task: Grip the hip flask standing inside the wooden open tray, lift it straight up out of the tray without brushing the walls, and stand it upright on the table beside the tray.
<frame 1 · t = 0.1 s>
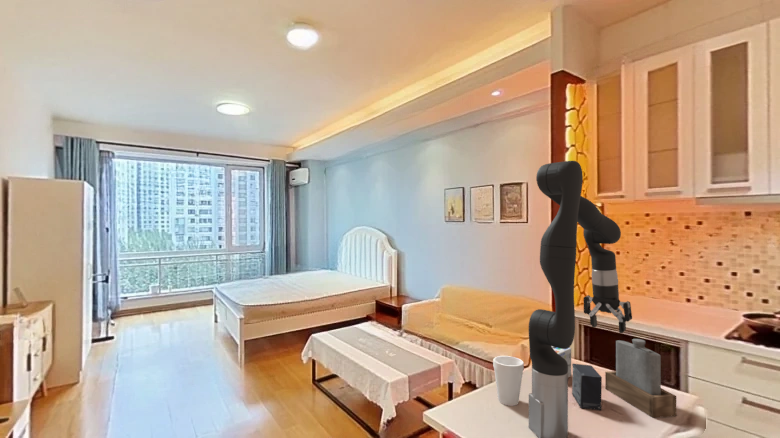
hand: (607, 329, 127), 22 cm above the table, tool pointing down, fingers open, 8 cm apart
small box: (586, 402, 123), on the table
foam cup: (508, 401, 124), on the table
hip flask: (638, 402, 124), resting in wooden open tray
light bulb box: (556, 377, 144), on the table
wooden open tray: (638, 401, 124), on the table
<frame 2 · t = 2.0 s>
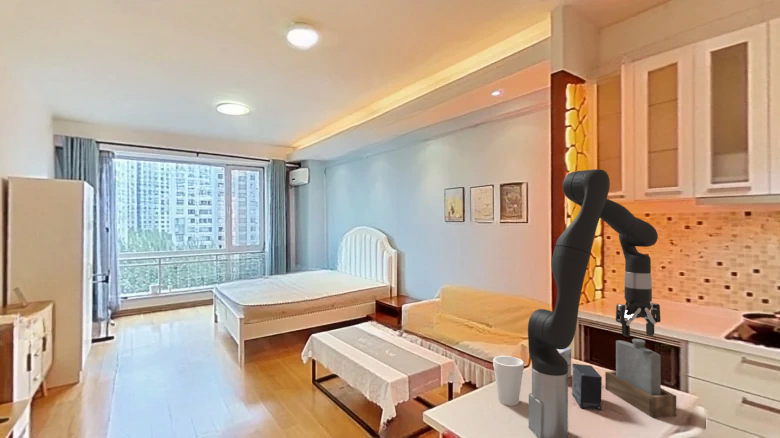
hand: (638, 335, 124), 21 cm above the table, tool pointing down, fingers open, 8 cm apart
nothing on the table moved.
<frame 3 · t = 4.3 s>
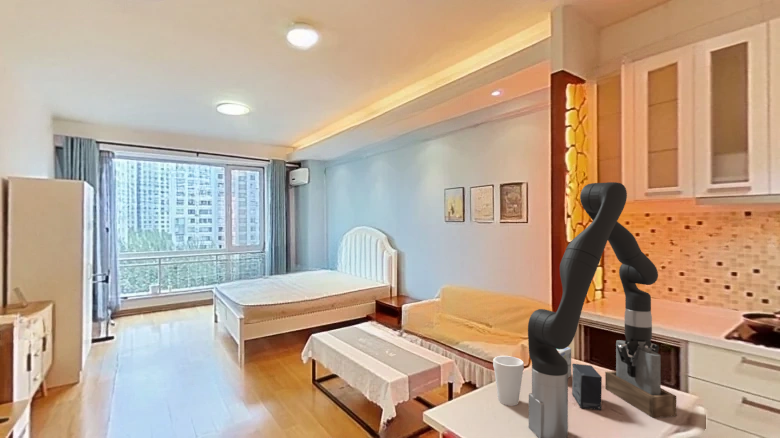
hand: (638, 375, 124), 8 cm above the table, tool pointing down, fingers closed on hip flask, 4 cm apart
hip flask: (638, 402, 124), resting in wooden open tray, touching gripper
everything else where it was.
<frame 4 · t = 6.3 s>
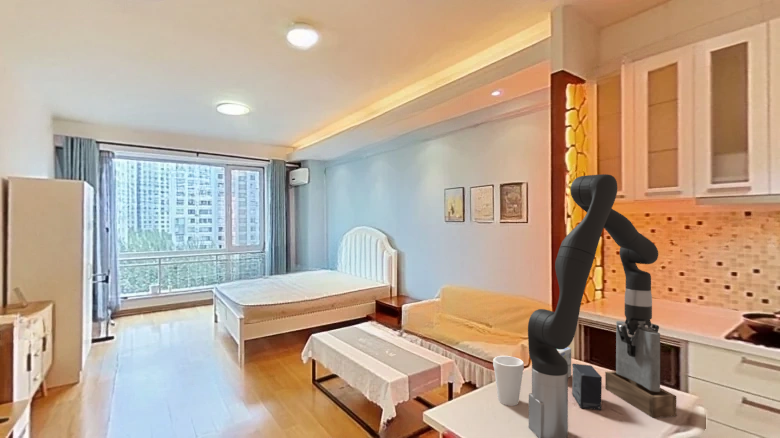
hand: (637, 355, 124), 15 cm above the table, tool pointing down, fingers closed on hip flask, 4 cm apart
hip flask: (637, 381, 124), point 6 cm above the table, touching gripper
everything else where it was.
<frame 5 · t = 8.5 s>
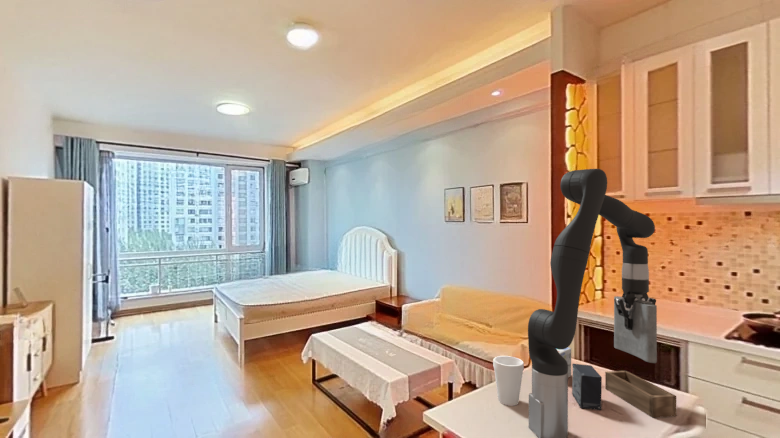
hand: (635, 329, 125), 23 cm above the table, tool pointing down, fingers closed on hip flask, 4 cm apart
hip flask: (635, 354, 125), point 15 cm above the table, touching gripper
everything else where it was.
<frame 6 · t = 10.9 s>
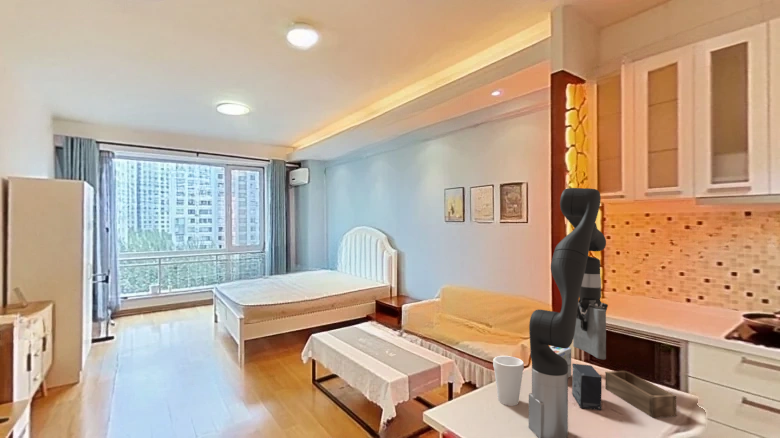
hand: (589, 330, 145), 17 cm above the table, tool pointing down, fingers closed on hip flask, 4 cm apart
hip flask: (589, 352, 144), point 9 cm above the table, touching gripper
everything else where it was.
when the fingers open (10 cm above the table, at t = 13.0 s): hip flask drops 1 cm, on the table.
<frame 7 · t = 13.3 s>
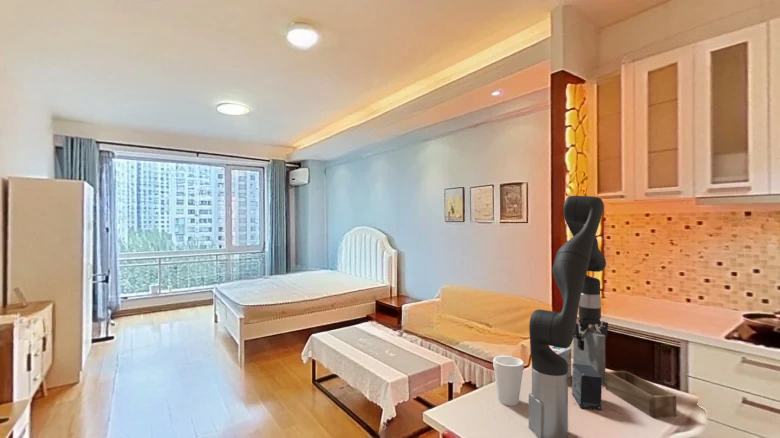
hand: (589, 349, 145), 10 cm above the table, tool pointing down, fingers open, 6 cm apart
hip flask: (589, 376, 144), on the table
everything else where it was.
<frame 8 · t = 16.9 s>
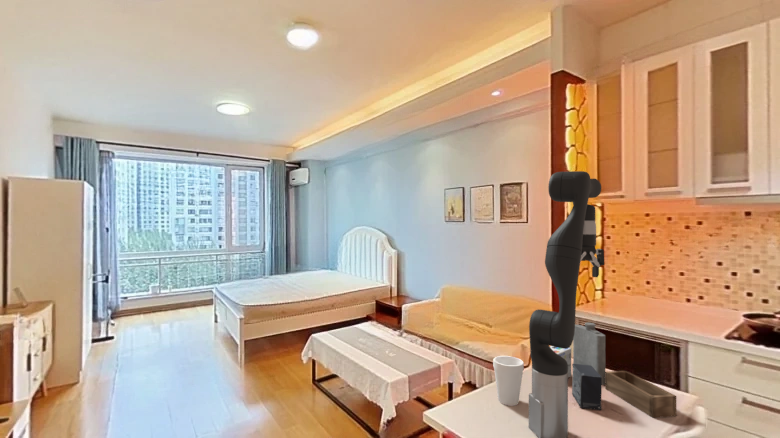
hand: (584, 277, 140), 38 cm above the table, tool pointing down, fingers open, 8 cm apart
nothing on the table moved.
at the end: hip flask inside the target area (0.0 cm from its centre), on the table; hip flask tilted 0°; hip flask touching table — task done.
